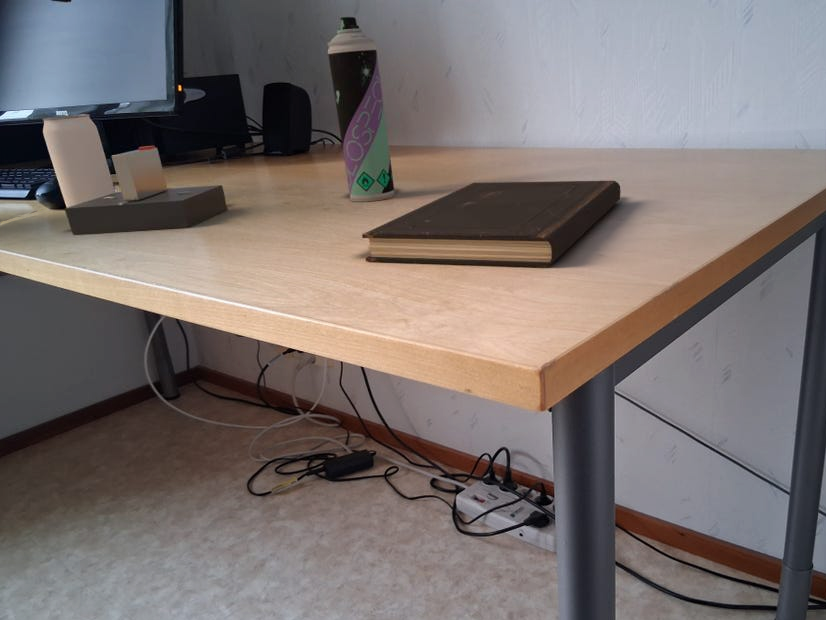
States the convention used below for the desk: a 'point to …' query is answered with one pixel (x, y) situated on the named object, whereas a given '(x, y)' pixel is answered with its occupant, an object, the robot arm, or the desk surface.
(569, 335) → the desk surface
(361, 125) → the spray can
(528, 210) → the hardcover book
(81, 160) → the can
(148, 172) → the white rectangular block
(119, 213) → the dark grey base plate
